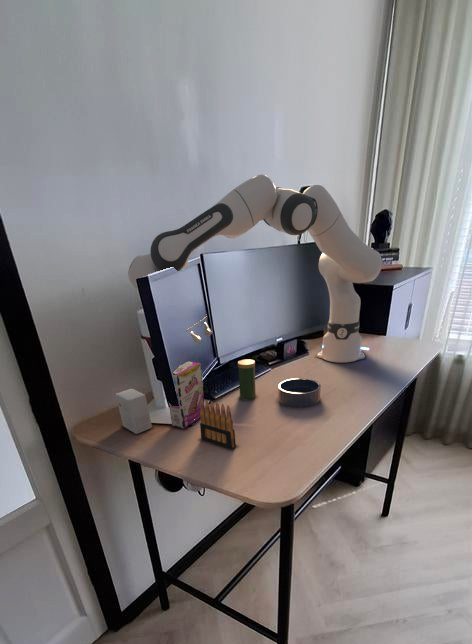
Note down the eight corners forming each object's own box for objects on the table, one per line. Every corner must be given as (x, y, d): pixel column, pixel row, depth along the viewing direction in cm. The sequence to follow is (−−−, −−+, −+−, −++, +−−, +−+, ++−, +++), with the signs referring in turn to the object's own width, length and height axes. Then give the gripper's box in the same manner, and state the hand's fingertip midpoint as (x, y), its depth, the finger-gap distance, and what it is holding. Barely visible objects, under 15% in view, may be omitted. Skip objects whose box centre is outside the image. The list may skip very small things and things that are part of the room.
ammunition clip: (201, 439, 111) (196, 398, 104) (205, 437, 112) (200, 396, 105) (231, 449, 105) (228, 407, 99) (236, 446, 106) (233, 404, 100)
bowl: (282, 391, 136) (282, 377, 134) (321, 393, 133) (322, 379, 130) (274, 407, 126) (274, 392, 123) (317, 410, 123) (318, 394, 120)
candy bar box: (185, 429, 116) (177, 374, 107) (171, 426, 119) (163, 372, 110) (207, 414, 124) (201, 362, 115) (193, 412, 126) (187, 360, 117)
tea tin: (242, 394, 137) (240, 359, 130) (257, 394, 135) (256, 359, 129) (237, 400, 132) (235, 364, 126) (253, 401, 131) (252, 364, 124)
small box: (152, 428, 118) (146, 394, 113) (136, 434, 115) (128, 400, 110) (138, 420, 124) (132, 387, 118) (122, 426, 121) (114, 393, 115)
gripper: (164, 304, 114) (200, 340, 117) (190, 291, 130) (221, 323, 133) (152, 321, 117) (187, 355, 120) (179, 306, 134) (209, 337, 137)
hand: (205, 338), depth 127 cm, fingers open, 8 cm apart
